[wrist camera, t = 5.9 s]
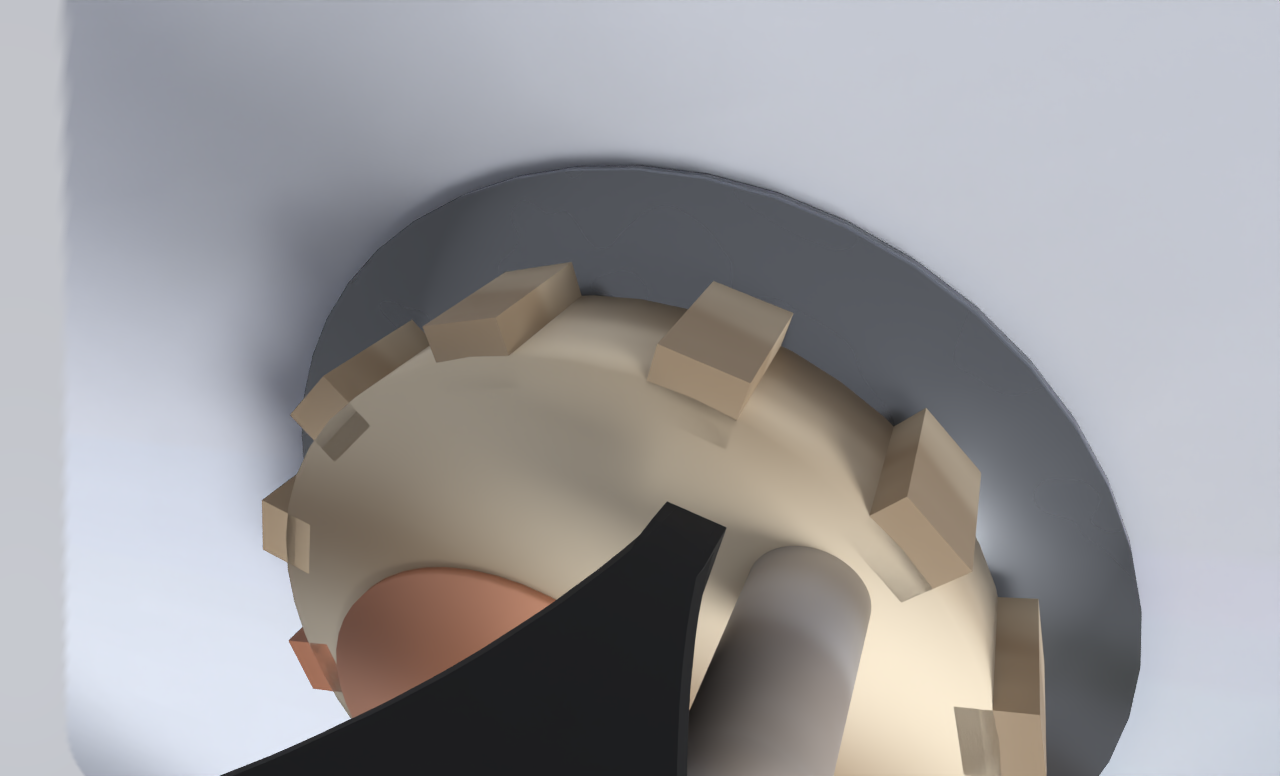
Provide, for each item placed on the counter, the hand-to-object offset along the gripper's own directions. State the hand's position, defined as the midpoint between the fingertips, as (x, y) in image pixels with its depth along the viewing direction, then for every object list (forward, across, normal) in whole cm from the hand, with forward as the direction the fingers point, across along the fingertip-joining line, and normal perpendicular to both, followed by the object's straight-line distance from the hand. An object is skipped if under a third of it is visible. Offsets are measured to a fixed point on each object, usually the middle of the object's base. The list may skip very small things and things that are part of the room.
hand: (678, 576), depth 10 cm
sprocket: (+4, +1, +4) cm, 6 cm away
